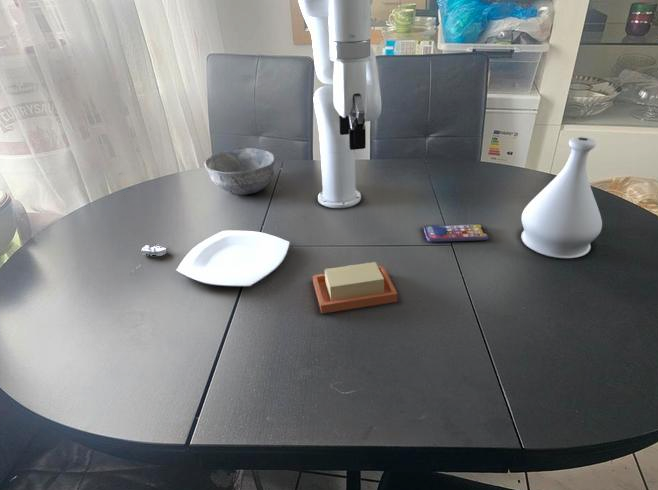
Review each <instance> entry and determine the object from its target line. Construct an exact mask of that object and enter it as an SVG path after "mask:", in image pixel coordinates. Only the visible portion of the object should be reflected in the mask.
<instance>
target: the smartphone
mask: <svg viewBox="0 0 658 490" xmlns="http://www.w3.org/2000/svg"><path fill="white" fill-rule="evenodd" d="M423 232H424V235H425V238H426V240H427V242H430V243H439V242H441V243H442V242H468V241H486V240H488V239H489V234H488V233H487V230H486V229H485V227H484V226H483V225H482V224H481V223H463V224H462V223H460V224H459V223H458V224H435V225H433V224H432V225H425V226H424V227H423Z"/></svg>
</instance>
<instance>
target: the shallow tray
mask: <svg viewBox="0 0 658 490" xmlns="http://www.w3.org/2000/svg"><path fill="white" fill-rule="evenodd" d="M377 266H378V268H379V270H380V272H381V274H382V276H383V278H384V293H383V294H377V295H370V296H364V297H357V298H351V299H344V300H338V301H330V298H329V294H328V291H327V288H326V283H325V273H319V274H314V275H312V284H313V287H314V291H315V294H316V298H317V302H318V306H319V309H320V314H328V313H334V312H340V311H341V312H342V311H347V310H354V309H360V308H366V307H372V306H373V307H374V306H379V305H384V304H391V303H392V304H393V303H398V292H397V290H396V288H395V286H394V284H393V283H392V280H391V279H390V277H389V274H388V273H387V270H386V268H385V266H384V265H377Z"/></svg>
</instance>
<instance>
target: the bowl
mask: <svg viewBox="0 0 658 490" xmlns="http://www.w3.org/2000/svg"><path fill="white" fill-rule="evenodd" d="M275 162H276V157H275V155H274V154H273V153H272V152H270V151H268V150H265V149H263V148H255V147H238V148H234V149H233V148H232V149H230V150H227V151H220V152H217V153H215V154H212V155H211V156H209V157H208V158H206V159H205V161H204V168H205V169H206V171H207V172H208V174H209V177H210V181H211V182H212V183H213V184H214V185H216V186H217V187H219V188H220V189H222V190H223V191H224V192H227V193H230V194H233V195H251V194H255V193H258V192H260V191H262V190H263V189H266V188H267V187H268V186H269V184H270V183H271V182H272V181H273V180H272V179H273V178H274V176H275V170H274V169H275V168H274V166H275Z"/></svg>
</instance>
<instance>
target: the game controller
mask: <svg viewBox="0 0 658 490" xmlns="http://www.w3.org/2000/svg"><path fill="white" fill-rule="evenodd" d="M157 245H158V244H157V243H155V244H154V246H152V247H151V245H149V244H148V245H145V246H143V247H142V248H141V254H142V255H144V256H147V258H149V257H153V256H152V255H150V256H149V255H146V254H143V253H142V251H143V252H145V253H149V254H160V253H162V252H163V251H165V250H166V251H165V252H164V253H162V254H161V255H156V256H155V257H161V256H163V255H166V254H167V253H168V252H167V248H166V247H164V246H163V245H162V247H161V246H157ZM160 247H161V248H160ZM140 267H141V265H139V266H138V267H137V269H139V268H140ZM132 273H133V271H131V272H130V274H132Z"/></svg>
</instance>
